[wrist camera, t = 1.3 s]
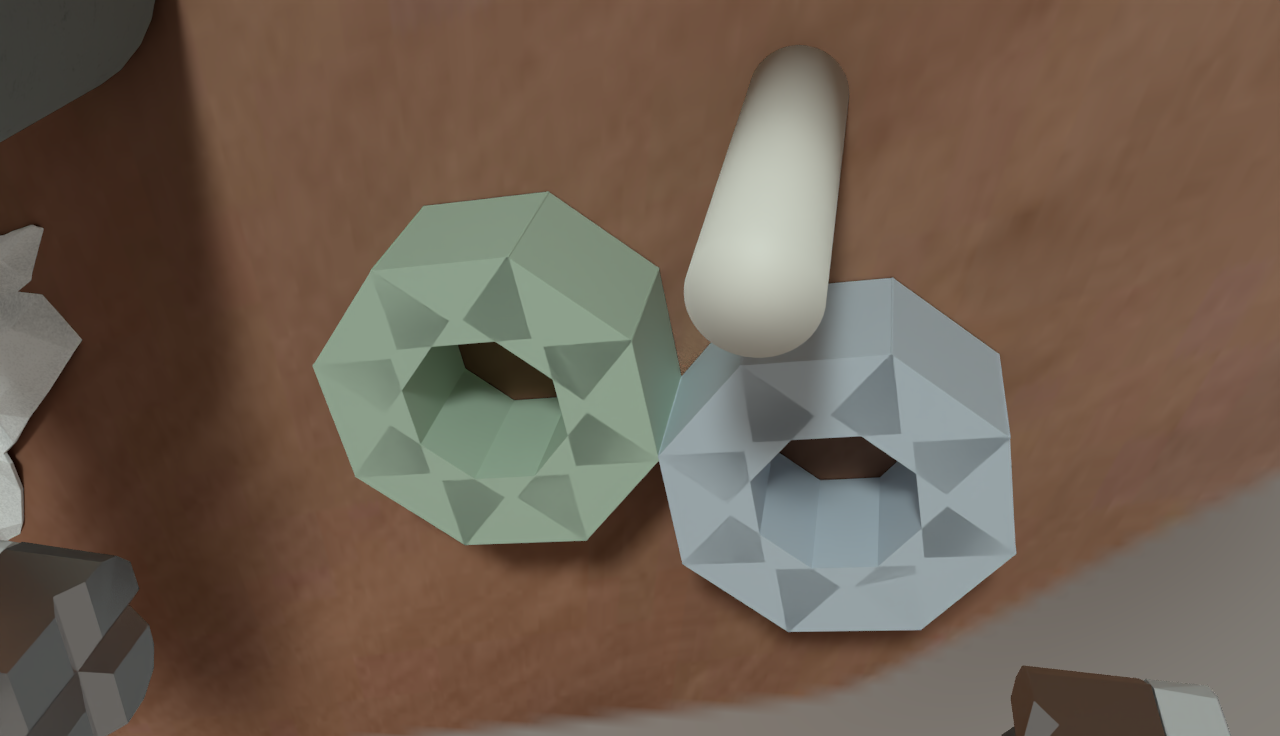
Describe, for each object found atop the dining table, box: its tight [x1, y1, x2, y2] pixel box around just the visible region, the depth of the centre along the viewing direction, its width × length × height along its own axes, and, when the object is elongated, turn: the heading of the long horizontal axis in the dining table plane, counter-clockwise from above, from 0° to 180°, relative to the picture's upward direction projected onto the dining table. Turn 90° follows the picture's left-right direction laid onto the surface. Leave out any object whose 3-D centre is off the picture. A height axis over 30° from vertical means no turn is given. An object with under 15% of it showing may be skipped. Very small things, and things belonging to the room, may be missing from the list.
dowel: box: [684, 45, 849, 358], centre depth 28 cm, size 3×3×12 cm
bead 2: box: [658, 278, 1016, 632], centre depth 37 cm, size 10×10×4 cm
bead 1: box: [313, 191, 681, 545], centre depth 37 cm, size 10×10×4 cm
